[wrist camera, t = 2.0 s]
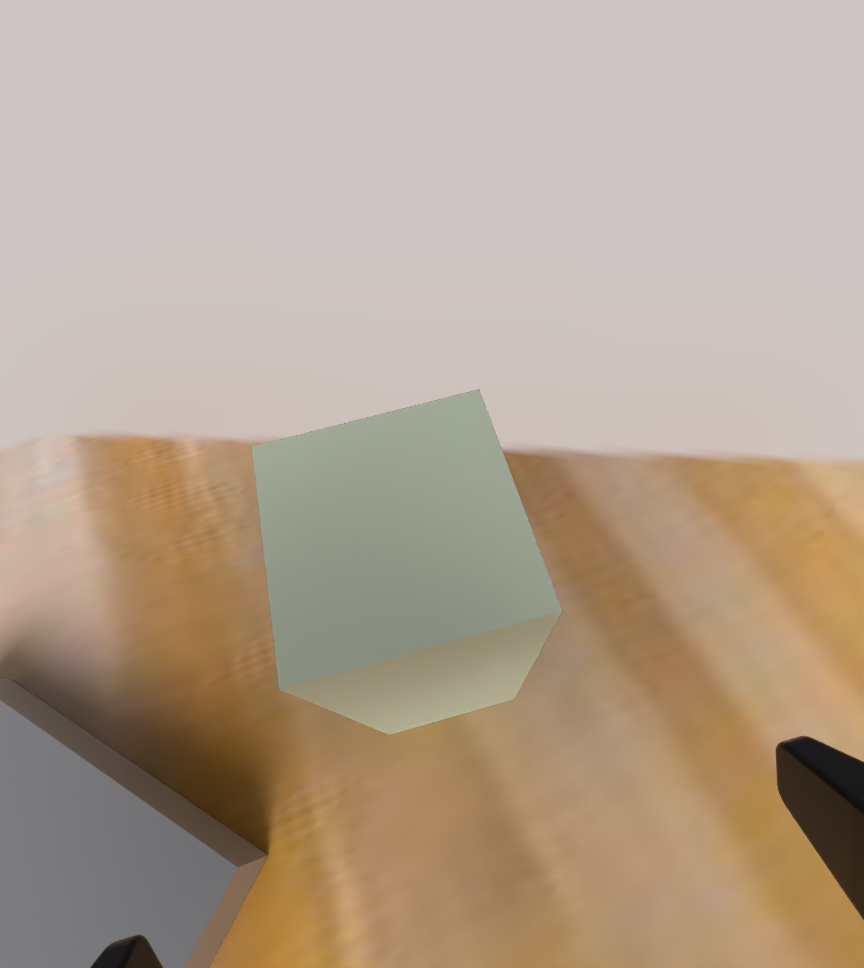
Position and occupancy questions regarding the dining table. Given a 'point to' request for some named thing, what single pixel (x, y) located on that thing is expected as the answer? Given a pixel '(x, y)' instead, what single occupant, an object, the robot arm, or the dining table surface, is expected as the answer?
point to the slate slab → (104, 851)
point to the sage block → (401, 566)
